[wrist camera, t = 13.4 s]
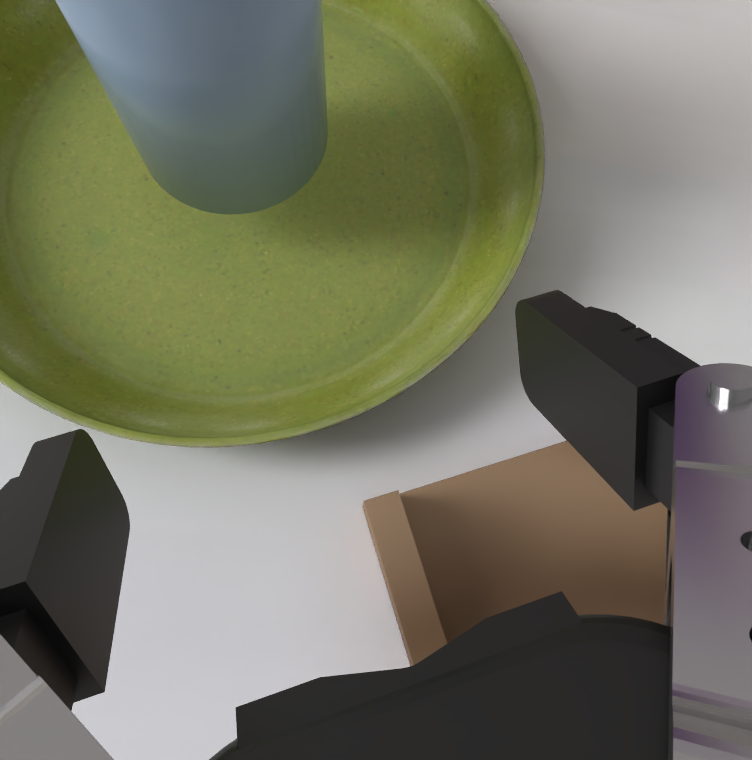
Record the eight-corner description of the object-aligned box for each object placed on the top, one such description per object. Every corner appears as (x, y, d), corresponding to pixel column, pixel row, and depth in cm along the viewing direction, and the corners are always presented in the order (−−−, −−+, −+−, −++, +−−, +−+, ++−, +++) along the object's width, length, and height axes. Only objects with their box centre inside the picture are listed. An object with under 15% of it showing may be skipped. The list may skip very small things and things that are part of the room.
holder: (788, 735, 18) (853, 763, 16) (469, 862, 17) (488, 912, 14) (648, 416, 20) (686, 399, 18) (362, 506, 19) (363, 500, 17)
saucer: (265, -106, 27) (254, -193, 24) (630, 195, 23) (672, 140, 20) (-161, 175, 22) (-244, 114, 19) (213, 601, 19) (186, 611, 16)
